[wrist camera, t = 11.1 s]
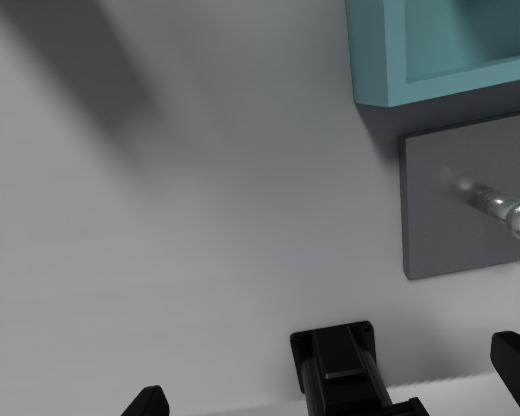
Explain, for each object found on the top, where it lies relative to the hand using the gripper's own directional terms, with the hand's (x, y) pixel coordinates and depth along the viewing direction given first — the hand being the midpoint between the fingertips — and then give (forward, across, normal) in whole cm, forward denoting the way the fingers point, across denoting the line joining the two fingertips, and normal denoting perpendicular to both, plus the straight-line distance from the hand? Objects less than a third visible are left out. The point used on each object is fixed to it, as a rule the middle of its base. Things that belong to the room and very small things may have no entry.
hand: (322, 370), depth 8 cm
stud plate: (+13, -13, +2) cm, 18 cm away
